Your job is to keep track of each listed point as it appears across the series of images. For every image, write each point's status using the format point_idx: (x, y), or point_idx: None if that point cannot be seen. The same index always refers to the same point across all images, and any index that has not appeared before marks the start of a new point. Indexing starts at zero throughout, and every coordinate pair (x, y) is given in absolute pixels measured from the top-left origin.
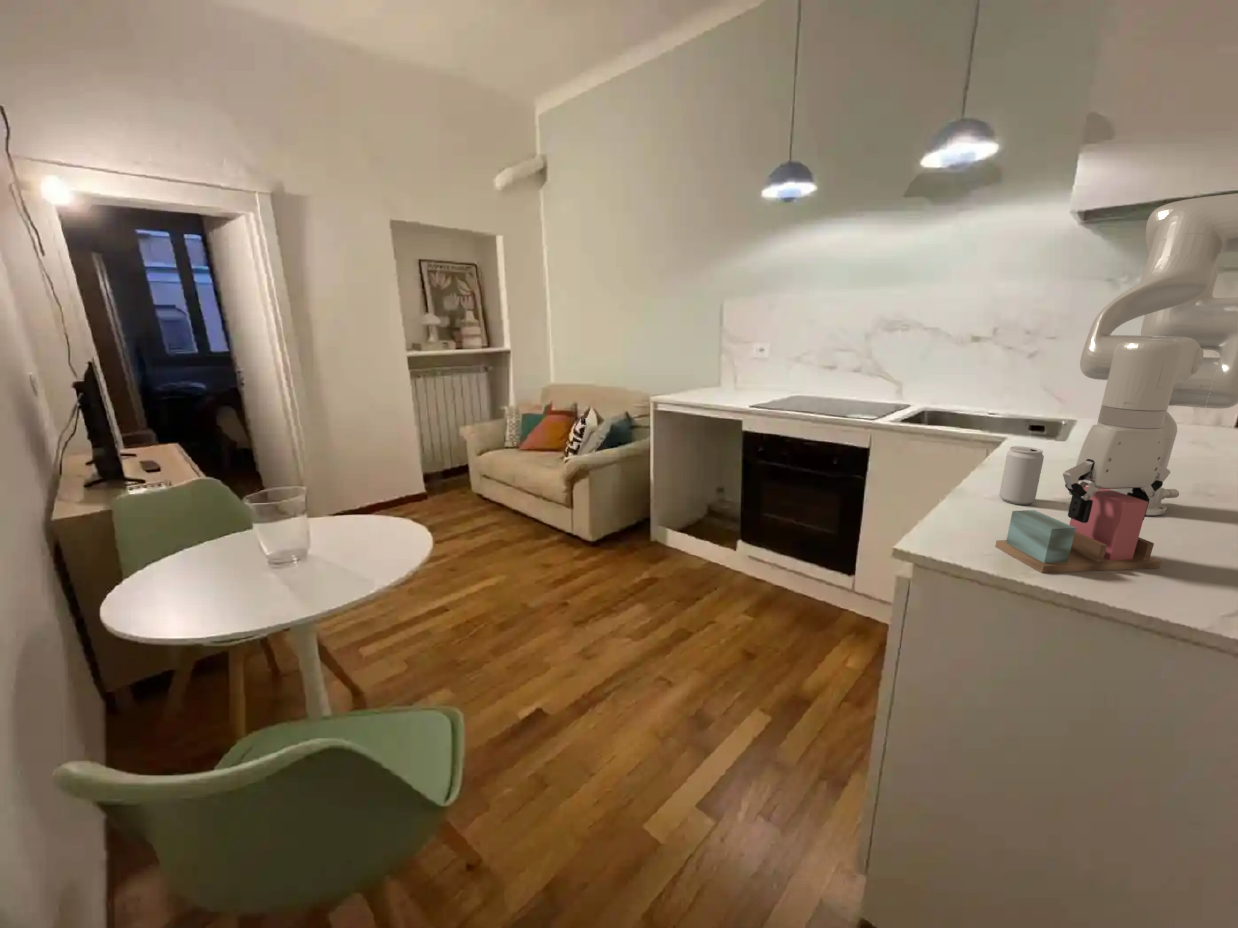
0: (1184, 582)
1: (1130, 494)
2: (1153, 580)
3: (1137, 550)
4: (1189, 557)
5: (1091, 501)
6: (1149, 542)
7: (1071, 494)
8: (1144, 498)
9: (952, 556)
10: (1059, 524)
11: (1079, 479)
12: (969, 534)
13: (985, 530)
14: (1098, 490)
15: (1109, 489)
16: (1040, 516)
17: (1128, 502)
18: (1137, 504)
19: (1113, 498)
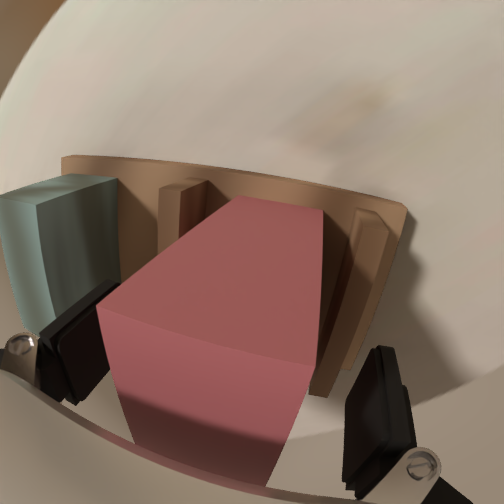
0: (314, 399)
1: (374, 450)
2: None
3: (316, 355)
4: (480, 336)
5: (72, 401)
6: (321, 392)
7: (24, 343)
8: (351, 482)
9: (7, 187)
10: (43, 322)
11: (7, 380)
12: (73, 75)
13: (125, 44)
14: (175, 404)
15: (284, 427)
16: (27, 260)
17: None
18: None
19: None
